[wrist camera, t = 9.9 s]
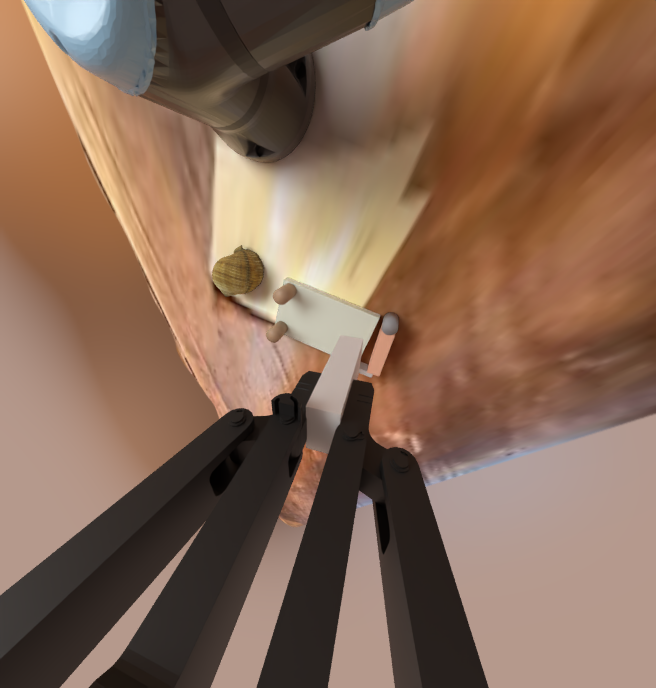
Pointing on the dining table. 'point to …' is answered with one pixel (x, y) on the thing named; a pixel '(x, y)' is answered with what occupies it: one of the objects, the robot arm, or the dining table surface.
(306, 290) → the pale board with pegs
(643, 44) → the dining table surface
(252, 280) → the seashell
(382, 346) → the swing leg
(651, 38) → the dining table surface
